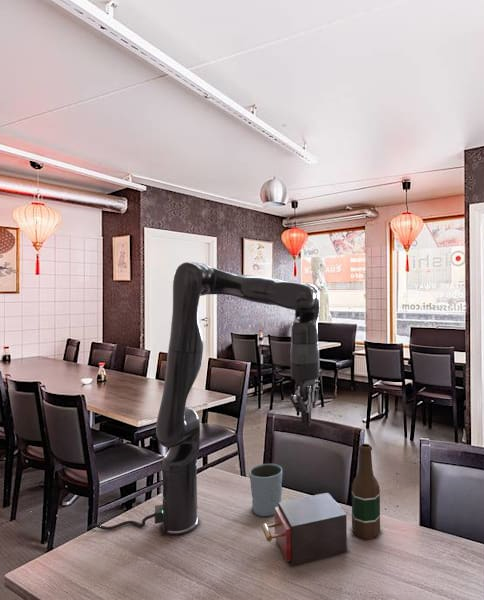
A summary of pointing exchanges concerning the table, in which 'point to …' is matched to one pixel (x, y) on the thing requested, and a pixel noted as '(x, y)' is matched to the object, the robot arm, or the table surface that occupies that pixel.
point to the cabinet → (315, 527)
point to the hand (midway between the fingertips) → (306, 426)
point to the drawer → (280, 533)
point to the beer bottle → (365, 497)
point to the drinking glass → (266, 488)
